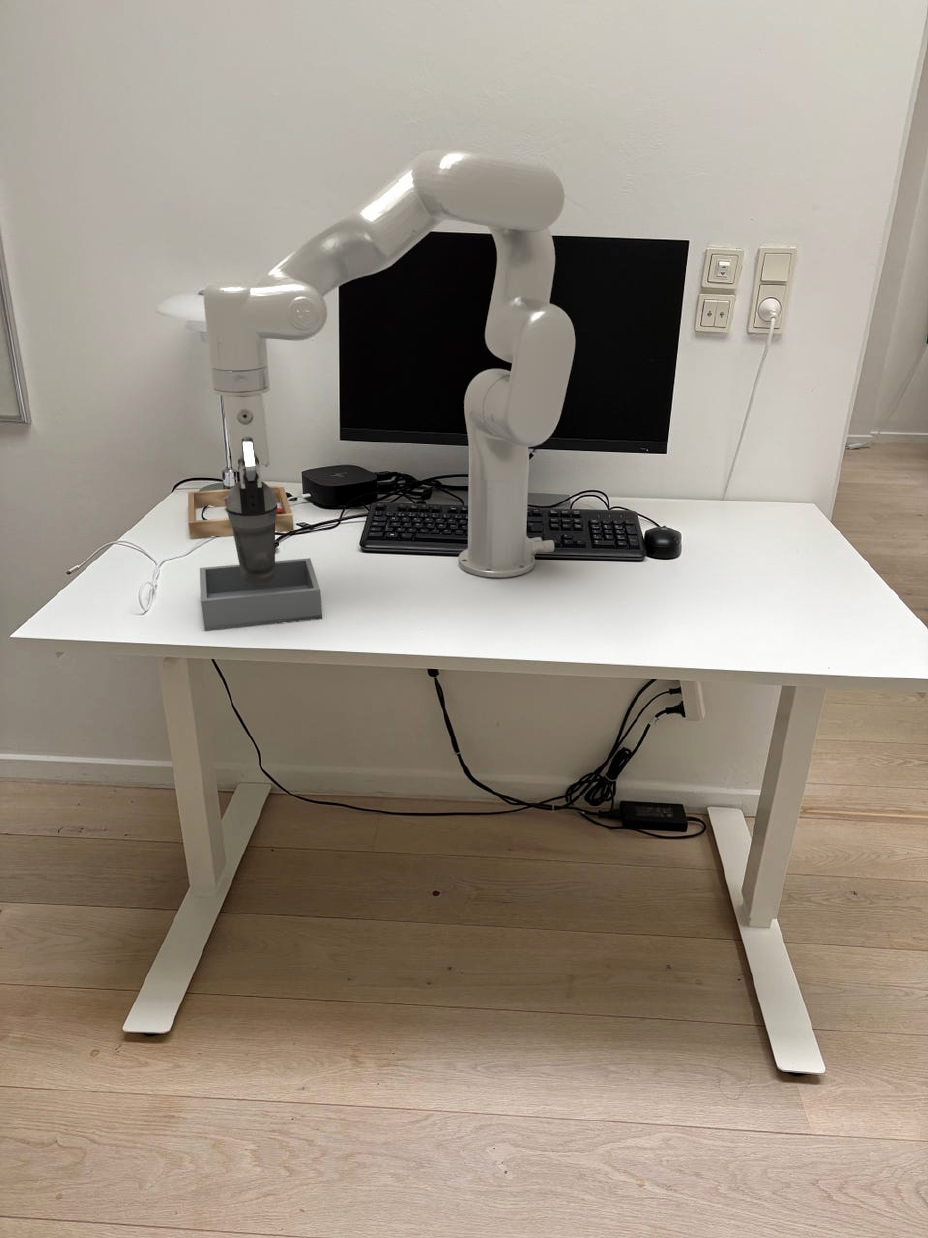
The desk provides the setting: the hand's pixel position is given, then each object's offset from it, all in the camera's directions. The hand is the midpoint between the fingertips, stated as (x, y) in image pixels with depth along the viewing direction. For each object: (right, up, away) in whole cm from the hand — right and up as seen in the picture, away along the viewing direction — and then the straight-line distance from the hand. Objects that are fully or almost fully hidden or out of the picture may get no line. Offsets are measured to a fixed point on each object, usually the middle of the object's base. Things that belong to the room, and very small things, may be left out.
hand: (251, 505), depth 136 cm
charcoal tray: (0, -14, +7) cm, 16 cm away
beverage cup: (0, -11, +5) cm, 12 cm away
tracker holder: (-10, +3, +45) cm, 46 cm away
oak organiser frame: (-12, +3, +42) cm, 44 cm away
